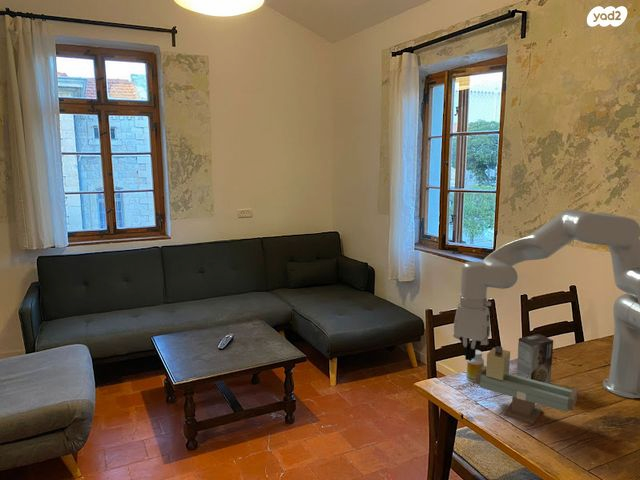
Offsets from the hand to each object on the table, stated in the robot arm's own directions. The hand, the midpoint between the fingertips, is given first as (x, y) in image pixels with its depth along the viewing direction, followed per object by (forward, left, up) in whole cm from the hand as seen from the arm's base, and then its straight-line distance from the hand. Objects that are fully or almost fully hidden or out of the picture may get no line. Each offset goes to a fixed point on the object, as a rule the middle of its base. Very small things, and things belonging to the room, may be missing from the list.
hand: (469, 358), depth 150 cm
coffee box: (-15, -20, -13) cm, 28 cm away
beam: (-17, 0, -13) cm, 21 cm away
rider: (-9, 0, -4) cm, 10 cm away
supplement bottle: (+2, -13, -13) cm, 19 cm away
